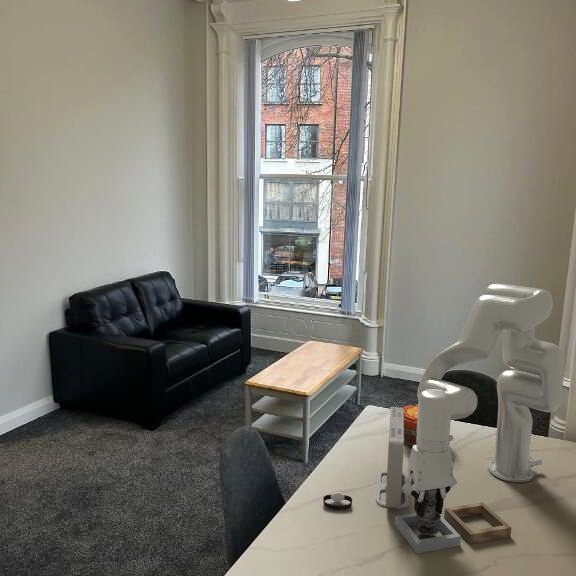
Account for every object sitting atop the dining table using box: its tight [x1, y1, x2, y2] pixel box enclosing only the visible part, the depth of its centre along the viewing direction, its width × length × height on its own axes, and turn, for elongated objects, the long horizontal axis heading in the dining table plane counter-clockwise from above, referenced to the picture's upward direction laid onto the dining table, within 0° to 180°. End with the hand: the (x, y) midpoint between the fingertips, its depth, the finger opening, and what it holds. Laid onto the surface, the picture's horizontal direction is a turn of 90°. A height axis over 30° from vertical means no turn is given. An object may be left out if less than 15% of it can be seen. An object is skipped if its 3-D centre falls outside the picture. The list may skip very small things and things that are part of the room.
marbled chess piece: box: [415, 489, 442, 536], centre depth 133 cm, size 6×6×12 cm
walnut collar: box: [443, 502, 512, 545], centre depth 138 cm, size 11×11×2 cm
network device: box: [375, 406, 410, 510], centre depth 153 cm, size 26×9×20 cm, turn 168°
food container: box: [402, 404, 418, 449], centre depth 184 cm, size 16×16×11 cm
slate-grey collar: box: [394, 512, 462, 554], centre depth 134 cm, size 11×11×2 cm
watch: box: [322, 491, 353, 511], centre depth 146 cm, size 8×5×4 cm, turn 87°
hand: (428, 511), depth 133 cm, fingers closed on marbled chess piece, 4 cm apart
